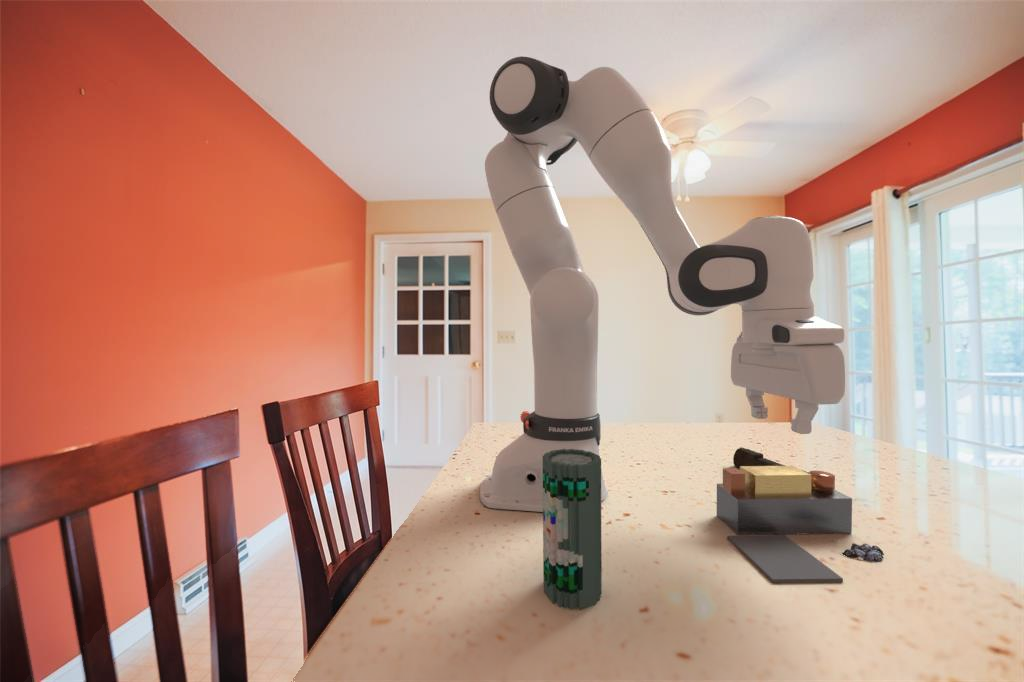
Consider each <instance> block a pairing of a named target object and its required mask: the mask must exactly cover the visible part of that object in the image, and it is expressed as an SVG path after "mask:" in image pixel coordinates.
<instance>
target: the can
mask: <svg viewBox="0 0 1024 682" xmlns="http://www.w3.org/2000/svg"><path fill="white" fill-rule="evenodd" d="M601 470H602V458H601V456H600V454H599V455H597V454H594V453H592V452H590V451H587V452H586V451H584V450H578V449H576V450H574V449H568V450H566V449H560V450H553V451H550V452H548V453H546V454H544V456H543V512H542V543H543V544H542V547H543V548H542V549H543V552H542V554H543V555H542V557H543V558H542V559H543V567H542V568H543V593H544V594H545V596H546V597H547V599H548V600H549V601H550V602H551V603H552V604H557V605H558V606H559V608H562V607H564V608H565V609H568V608H569V609H570V610H574V609H578V610H580V611H581V610H584V609H587V608H589V607H592V606H595V605H596V604H597V603H596V602H598V601H600V600H601V597H602V594H603V591H602V588H603V587H602V585H603V584H602V583H603V581H602V577H603V576H602V575H603V574H602V571H603V570H602V569H603V568H602V566H603V565H602V562H603V561H602V501H601Z"/></svg>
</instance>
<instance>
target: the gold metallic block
mask: <svg viewBox="0 0 1024 682" xmlns="http://www.w3.org/2000/svg"><path fill="white" fill-rule="evenodd" d="M739 470H740V471H742V472H743V473H745V490H747V491H748V492H749V493H751V494H752V495H754V496H811V475H810V474H808V473H806V472H807V471H806V472H804V471H805V470H803V471H802V469H800V468H799V467H796V466H794V465H785V466H740V469H739Z"/></svg>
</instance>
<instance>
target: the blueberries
mask: <svg viewBox="0 0 1024 682" xmlns="http://www.w3.org/2000/svg"><path fill="white" fill-rule="evenodd" d="M838 540H839V541H841V540H840V539H838ZM850 548H851V549H850ZM850 548H849V549H848V548H846V549H845V550H844V551H842V552H841V553H842V554H843V555H842V556H844V555H845V556H844V557H846V556H847V558H849V557H850V558H849V559H854V558H857V559H856V560H858V561H861V560H863V562H870V563H874V564H877V563H881V562H883V561H884V560H883V559H884V556H885V553H884V552H883V550H882V549H881V548H880V547H879V546H877V545H872V546H871V545H870V544H868V543H862V544H860V545H859V544H858V543H853V542H852V544H851V547H850ZM859 559H860V560H859Z"/></svg>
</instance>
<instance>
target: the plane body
mask: <svg viewBox="0 0 1024 682" xmlns="http://www.w3.org/2000/svg"><path fill="white" fill-rule="evenodd" d="M808 472H809V474H810V475H811V496H754V495H752V494H751V493H749V492H748V491H747V490H745V473H743V472H742V471H740V469H739V468H737V467H727V468H726V467H723V468H722V483H716V516H717V517H718V519H720V520H721V521H722V522H723V523H724V524H725V525H726V526H728V527H729V528H730V529H731V530H732V531H733V532H734V533H735V534H736V536H738V535H739V534H740V535H746V534H760V535H802V534H801V533H826V534H825V535H828V534H827V533H831V534H832V533H852V529H853V528H852V527H853V526H852V525H853V524H852V523H853V522H852V521H853V517H852V516H853V497H851V496H848V495H847V494H844V493H842V492H840V491H838V490H836V489H835V487H836V477H835V474H833V473H830V472H827V471H822V470H810V471H808ZM798 533H799V534H798ZM831 534H830V535H831ZM832 535H833V534H832Z"/></svg>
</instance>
